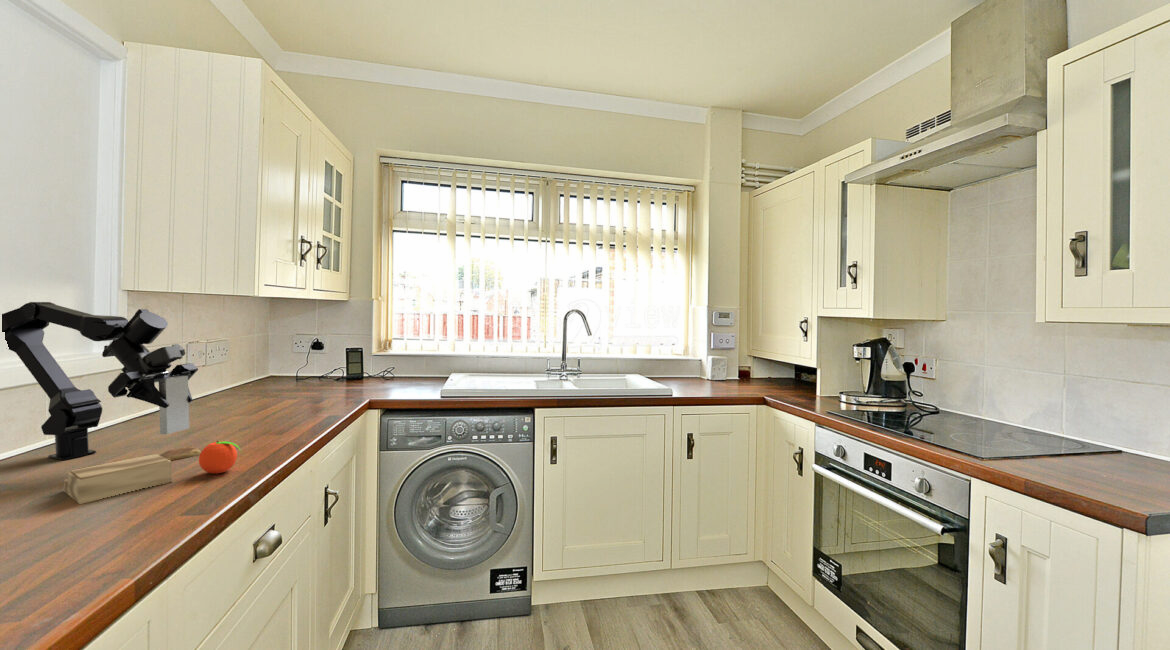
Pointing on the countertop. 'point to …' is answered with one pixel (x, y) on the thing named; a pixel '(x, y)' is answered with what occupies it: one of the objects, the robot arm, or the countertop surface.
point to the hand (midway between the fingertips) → (179, 404)
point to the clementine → (218, 457)
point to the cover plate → (174, 404)
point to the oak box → (117, 478)
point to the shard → (181, 453)
